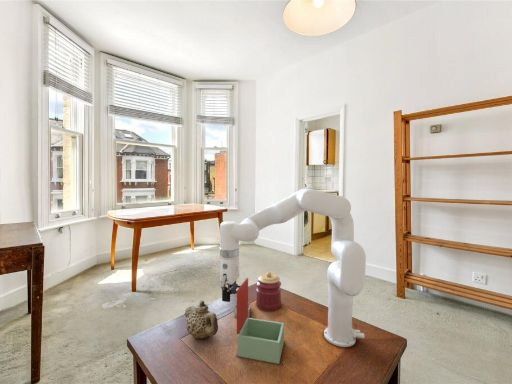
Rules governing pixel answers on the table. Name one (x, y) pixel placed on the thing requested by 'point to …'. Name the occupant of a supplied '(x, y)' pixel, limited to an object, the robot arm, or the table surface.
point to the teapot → (201, 321)
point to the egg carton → (248, 309)
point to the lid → (241, 303)
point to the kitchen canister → (268, 292)
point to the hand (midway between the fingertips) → (229, 296)
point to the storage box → (261, 340)
